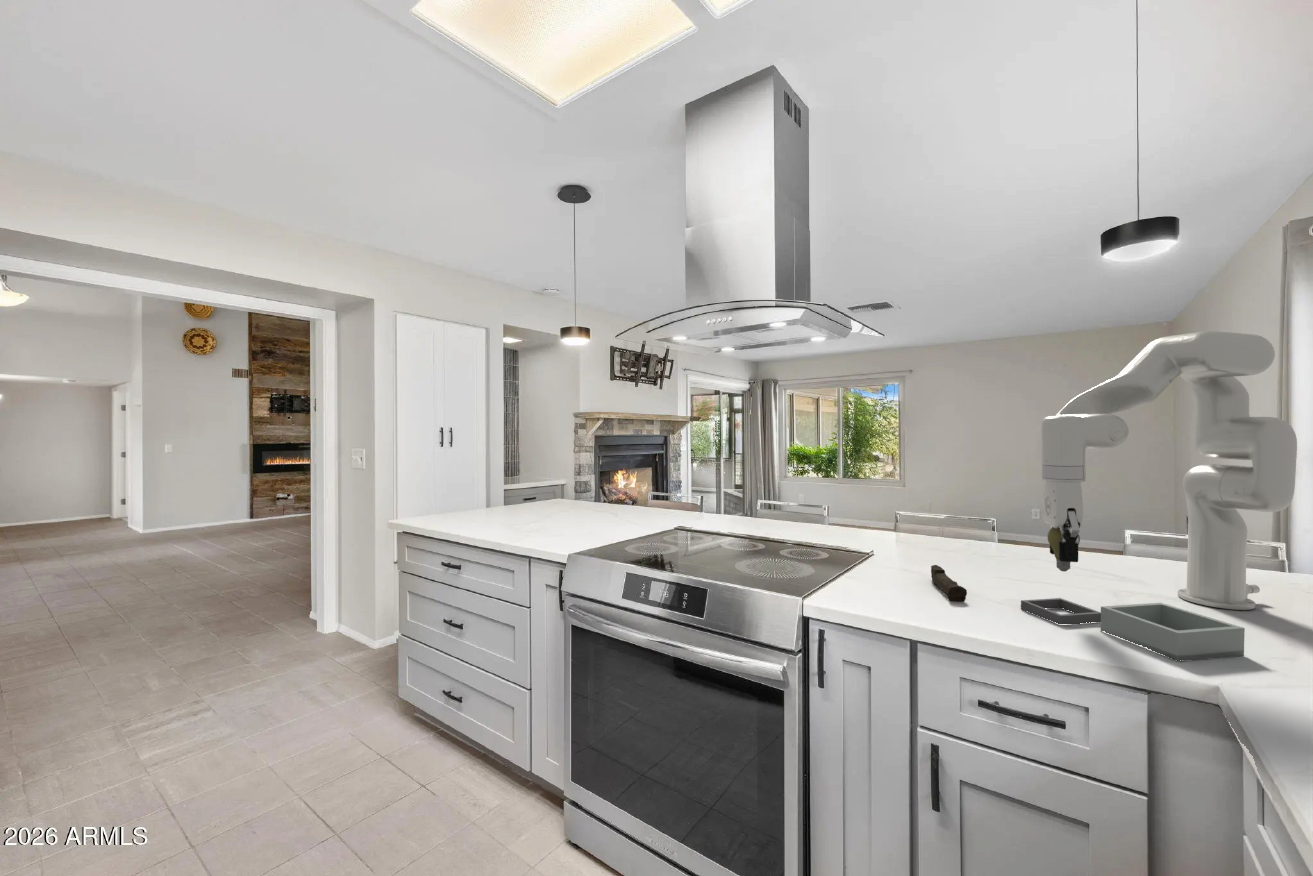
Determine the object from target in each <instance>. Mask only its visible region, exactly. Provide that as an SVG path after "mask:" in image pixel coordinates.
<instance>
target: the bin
mask: <svg viewBox="0 0 1313 876" xmlns="http://www.w3.org/2000/svg"><path fill="white" fill-rule="evenodd" d="M1100 612H1101V623H1100V630H1101V631H1105V632H1106V633H1109V634H1112V635H1115V636H1118V637H1120V638H1123V639H1125V640H1128V641H1130V642H1133V643H1135V644H1138V645H1142V646H1143V647H1147V648H1148V649H1151V650H1152V651H1155V652H1157V653H1160V654H1163V655H1165V656H1167V657H1169V658H1168V659H1170V658H1172V659H1173V661H1175V660H1177V661H1180V660H1181V661H1180V662H1183V661H1182V660H1192V661H1201V660H1200V659H1203V660H1211V658H1213V659H1214V658H1215V659H1223V658H1224V659H1225V658H1235V657H1244V656H1245V627H1242V626H1238V625H1236V624H1232V623H1230V622H1225V621H1223V620H1219V619H1216V618H1212V617H1210V616H1207V615H1202V614H1199V613H1196V612H1193V611H1189V610H1188V609H1186V610H1185V609H1183V608H1180V607H1176V606H1173V605H1170V604H1166V603H1163V602H1149V603H1148V602H1147V603H1135V604H1132V603H1131V604H1121V605H1120V604H1119V605H1106V606H1105V605H1103V606H1100ZM1101 631H1100V632H1101ZM1106 633H1105V634H1106ZM1152 651H1151V652H1152ZM1157 653H1156V654H1157ZM1167 657H1166V658H1167ZM1209 658H1210V659H1209ZM1172 659H1171V660H1172ZM1198 659H1199V660H1198ZM1213 659H1212V660H1213ZM1177 661H1176V662H1177Z"/></svg>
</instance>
